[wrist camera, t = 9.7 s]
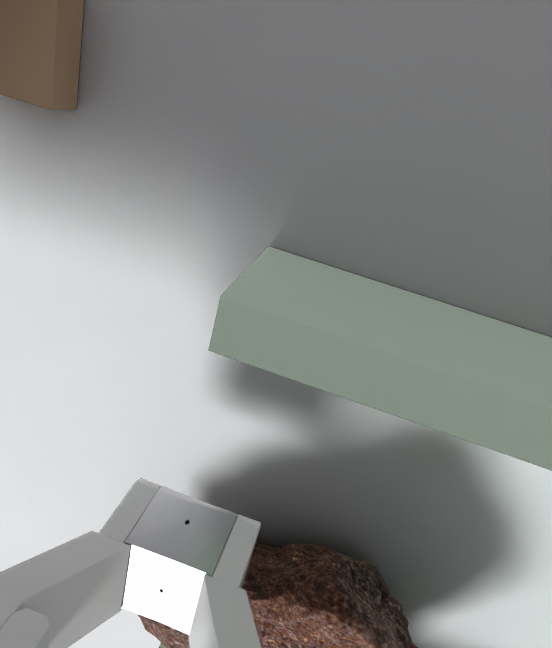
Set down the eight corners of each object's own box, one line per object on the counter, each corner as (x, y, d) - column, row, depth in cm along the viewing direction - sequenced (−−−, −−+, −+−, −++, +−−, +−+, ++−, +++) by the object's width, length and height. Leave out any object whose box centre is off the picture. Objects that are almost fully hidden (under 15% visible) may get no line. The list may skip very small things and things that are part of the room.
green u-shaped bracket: (170, 631, 16) (122, 736, 14) (268, 246, 11) (221, 295, 8) (517, 775, 15) (540, 921, 12) (835, 428, 10) (1002, 559, 7)
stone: (469, 662, 14) (481, 805, 11) (242, 684, 17) (205, 803, 14) (363, 462, 12) (345, 569, 9) (133, 525, 15) (66, 621, 12)
